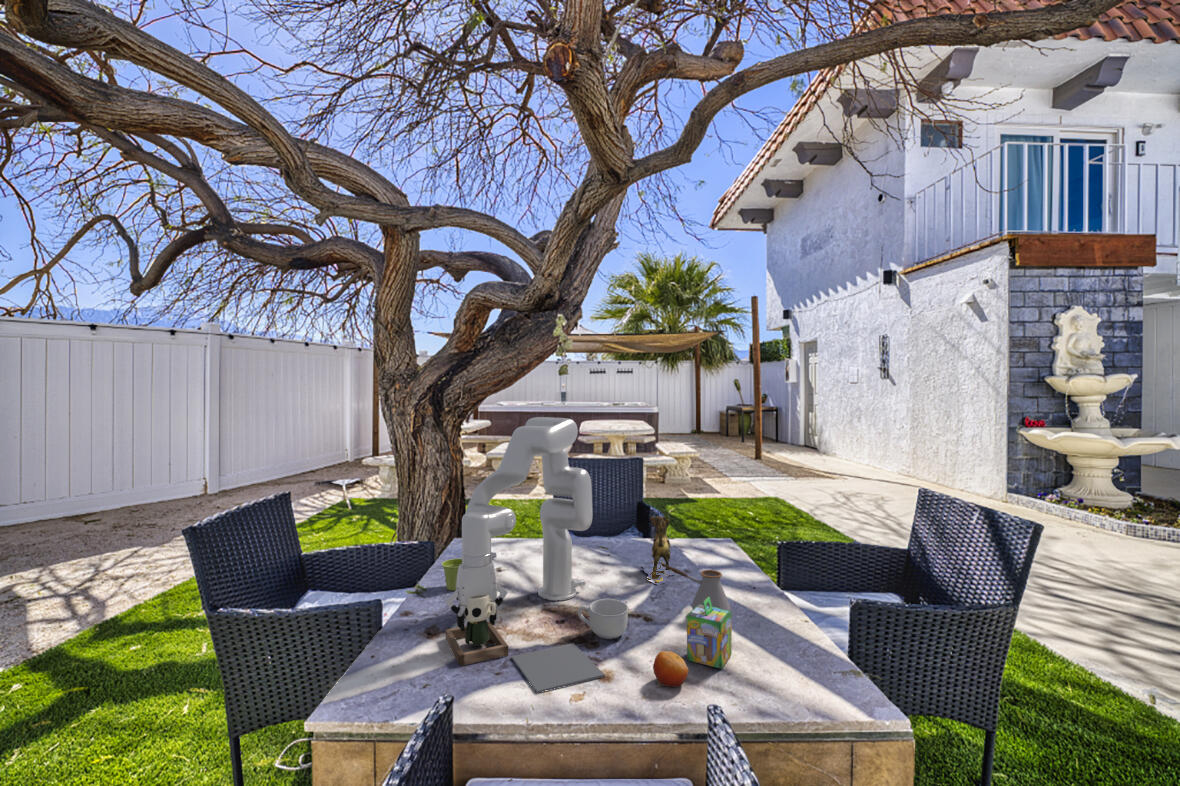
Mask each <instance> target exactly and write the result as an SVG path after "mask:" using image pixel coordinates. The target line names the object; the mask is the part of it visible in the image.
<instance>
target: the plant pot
mask: <svg viewBox="0 0 1180 786" xmlns="http://www.w3.org/2000/svg"><path fill="white" fill-rule="evenodd" d="M460 564H462V558H452V559H451V558H450V559H447V560H446V559H445V560H444V561H442V562H441V567H442V568H443V570H444V571H443V572H444V579H445V586H446V589H447V590H448V591H451V592H452V591H453V592H455V591H456V583H457V573H458V568H459V565H460Z"/></svg>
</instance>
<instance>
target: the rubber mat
mask: <svg viewBox="0 0 1180 786" xmlns="http://www.w3.org/2000/svg"><path fill="white" fill-rule="evenodd" d="M511 660H512V661H513V663H514V662H515V663H514V664H515V665H516V667H517V666H518V667H517V668H518V670H519V669H520V670H521V671H520V670H519V671H520V672H521V674H522V673H523V674H522V676H523V677H524V676H525V677H526V678H525V677H524V678H525V680H526V681H527V680H528V681H529V682H530V683H529V682H528V681H527V682H528V683H529V684H531V685H532V686H531V685H530V686H531V687H533V688H534V689H533V688H532V689H533V690H534V692H535V691H536V692H537V693H538V694H540V693H539V692H542V691H545V690H550V689H554V688H558V687H562V688H564V687H563V686H566V687H569V686H568V685H570V686H573V685H572V684H574V685H577V684H576V683H578V684H581V682H582V683H586V682H590V681H594V680H598V679H601V678H605V673H604V672H603V671H602V670H601V669H600V668H599V667H598V666H596V664H595V663H594V662H592V660H591V659H590V658H589V657H588V656H587V655H585V653H584V652H582V650H580V648H579V647H578V646H577V645H575V644H574V642H573V643H567V644H563V645H558V646H553V647H548V648H545V649H539V650H535V651H530V652H525V653H521V654H516V655H511ZM597 678H598V679H597ZM589 680H590V681H589ZM585 681H586V682H585ZM558 689H559V688H558ZM554 690H555V689H554ZM550 691H551V690H550ZM536 692H535V693H536ZM537 693H536V694H537ZM542 693H543V692H542Z"/></svg>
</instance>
